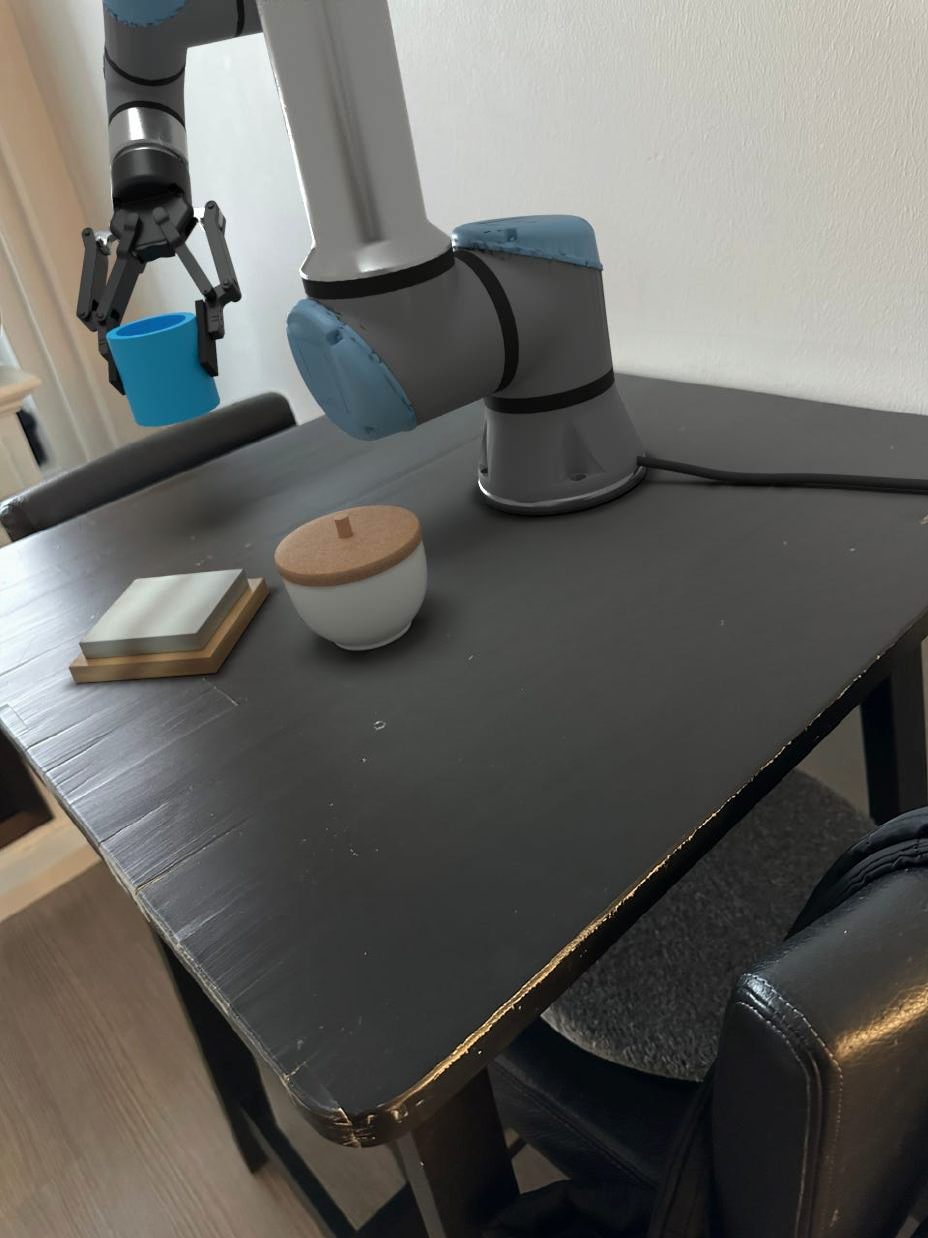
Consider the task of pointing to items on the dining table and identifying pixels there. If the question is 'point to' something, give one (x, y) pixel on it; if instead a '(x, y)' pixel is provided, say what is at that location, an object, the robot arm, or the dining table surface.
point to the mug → (163, 369)
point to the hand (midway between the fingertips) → (164, 378)
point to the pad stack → (170, 627)
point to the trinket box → (356, 574)
